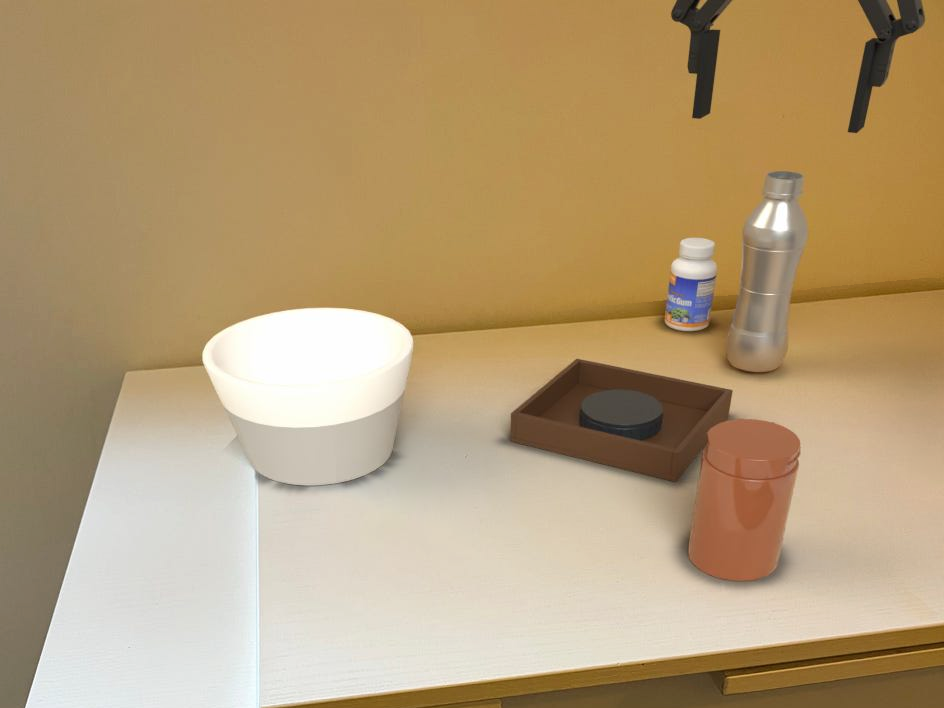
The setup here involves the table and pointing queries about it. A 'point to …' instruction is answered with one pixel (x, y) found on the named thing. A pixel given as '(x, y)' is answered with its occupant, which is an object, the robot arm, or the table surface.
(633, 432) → the jar lid
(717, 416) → the tray
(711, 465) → the jam jar
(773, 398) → the table surface
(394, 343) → the bowl
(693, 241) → the pill bottle
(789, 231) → the silver bottle
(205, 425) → the table surface
